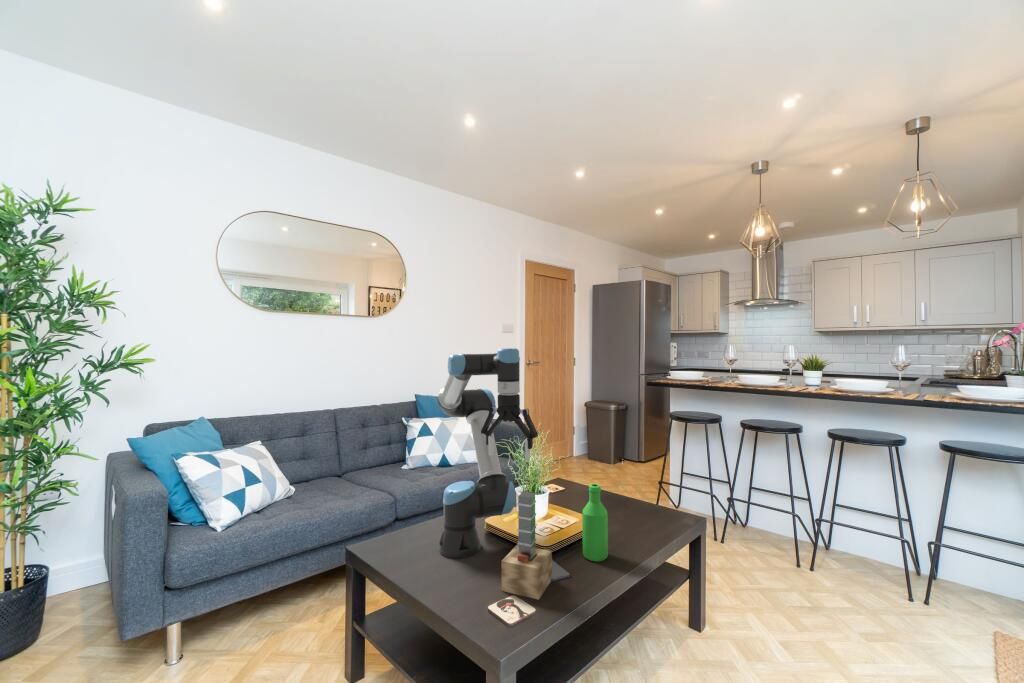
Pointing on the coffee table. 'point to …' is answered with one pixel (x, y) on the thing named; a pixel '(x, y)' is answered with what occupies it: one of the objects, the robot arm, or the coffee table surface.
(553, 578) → the smartphone
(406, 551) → the coffee table surface
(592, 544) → the bottle
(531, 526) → the column
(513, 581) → the housing
